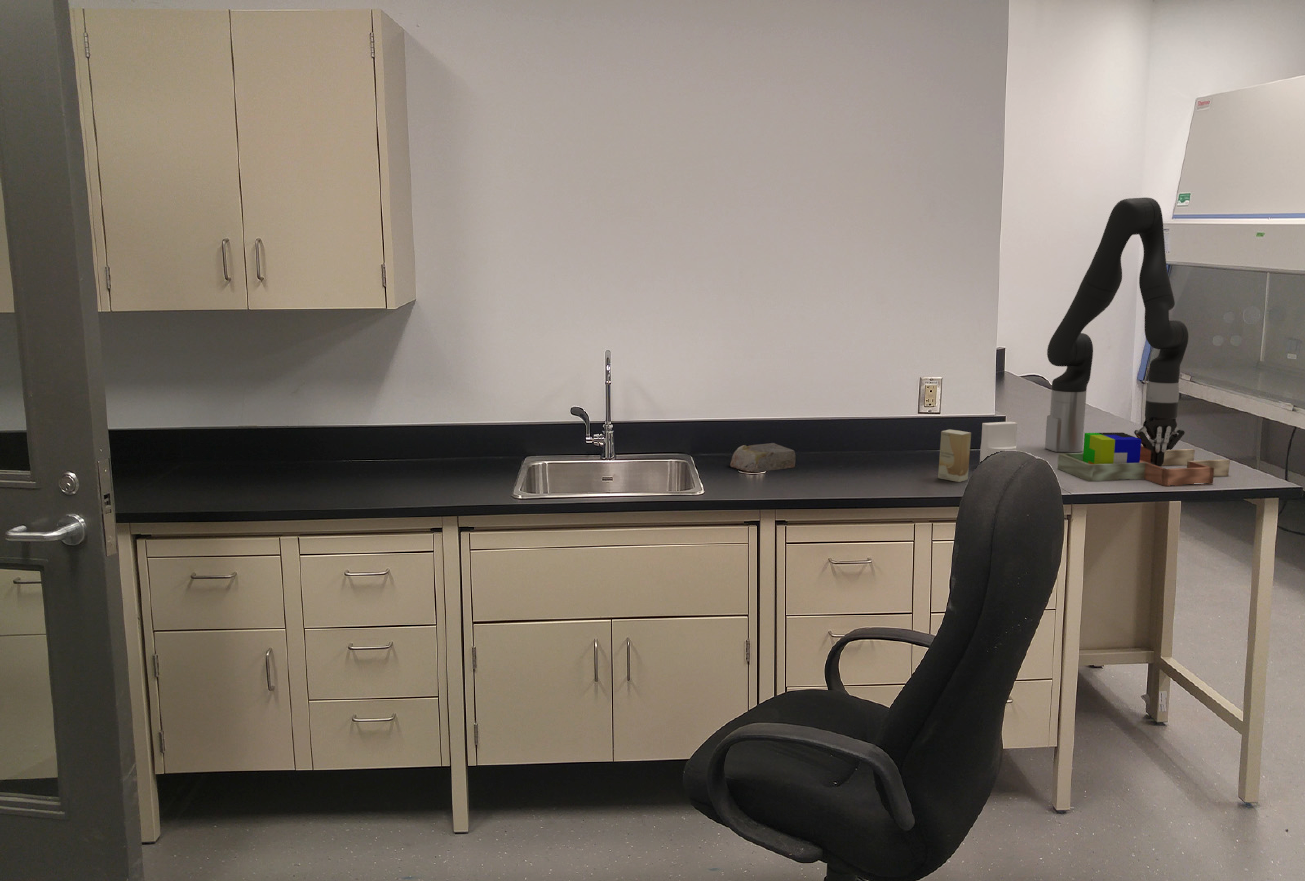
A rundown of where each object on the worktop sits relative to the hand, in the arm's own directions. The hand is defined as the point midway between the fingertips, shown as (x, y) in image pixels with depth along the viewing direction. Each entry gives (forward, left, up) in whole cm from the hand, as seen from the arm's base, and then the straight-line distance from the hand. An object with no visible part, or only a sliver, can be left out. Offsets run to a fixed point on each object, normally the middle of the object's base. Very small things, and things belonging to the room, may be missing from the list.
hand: (1156, 465), depth 276 cm
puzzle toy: (-13, -1, -2) cm, 13 cm away
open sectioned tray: (-4, 0, -2) cm, 4 cm away
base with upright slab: (-38, +11, -2) cm, 40 cm away
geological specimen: (-98, +24, -2) cm, 101 cm away
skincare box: (-55, 0, -2) cm, 55 cm away
